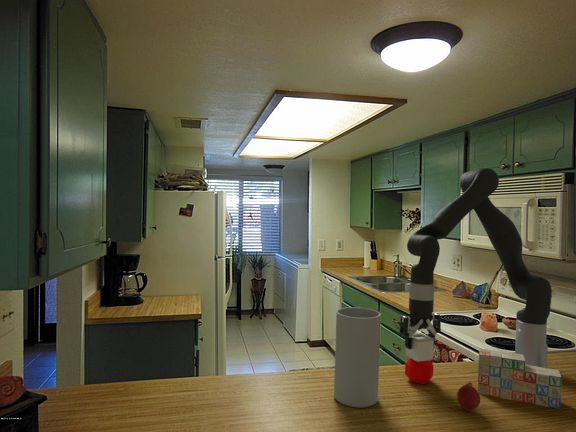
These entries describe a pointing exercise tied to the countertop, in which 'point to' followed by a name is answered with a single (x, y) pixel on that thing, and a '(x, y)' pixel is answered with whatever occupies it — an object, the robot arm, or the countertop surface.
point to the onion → (468, 397)
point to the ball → (419, 370)
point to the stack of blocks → (517, 379)
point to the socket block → (421, 347)
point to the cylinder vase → (357, 356)
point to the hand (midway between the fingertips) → (419, 347)
